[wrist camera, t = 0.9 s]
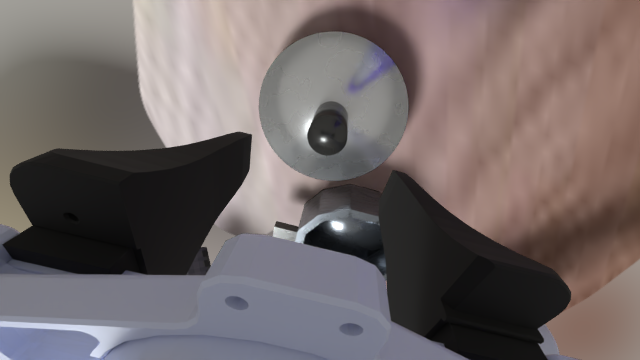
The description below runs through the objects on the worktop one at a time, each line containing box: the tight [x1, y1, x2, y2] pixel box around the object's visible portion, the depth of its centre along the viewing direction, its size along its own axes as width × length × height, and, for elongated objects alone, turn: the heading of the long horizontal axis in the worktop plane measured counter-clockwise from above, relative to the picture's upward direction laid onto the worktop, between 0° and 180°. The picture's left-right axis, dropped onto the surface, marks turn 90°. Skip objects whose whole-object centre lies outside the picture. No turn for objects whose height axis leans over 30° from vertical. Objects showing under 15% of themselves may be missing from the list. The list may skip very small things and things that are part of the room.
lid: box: [259, 31, 408, 181], centre depth 18 cm, size 12×12×6 cm
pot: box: [273, 184, 387, 281], centre depth 25 cm, size 15×11×4 cm
